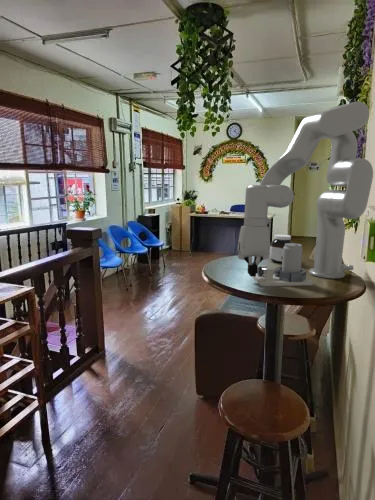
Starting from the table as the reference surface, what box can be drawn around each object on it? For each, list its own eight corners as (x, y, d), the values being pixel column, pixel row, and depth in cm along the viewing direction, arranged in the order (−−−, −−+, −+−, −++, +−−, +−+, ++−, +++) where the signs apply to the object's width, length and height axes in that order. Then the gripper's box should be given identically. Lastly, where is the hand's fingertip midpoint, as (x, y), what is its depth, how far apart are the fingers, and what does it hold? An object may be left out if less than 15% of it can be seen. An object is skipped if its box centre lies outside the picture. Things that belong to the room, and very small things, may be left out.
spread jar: (269, 263, 148) (271, 236, 145) (268, 257, 159) (269, 232, 156) (298, 264, 146) (300, 237, 143) (295, 259, 157) (297, 233, 154)
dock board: (299, 277, 126) (301, 263, 125) (312, 285, 117) (314, 270, 116) (252, 277, 124) (253, 264, 123) (261, 286, 114) (262, 271, 113)
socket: (297, 274, 126) (298, 266, 125) (309, 281, 116) (310, 273, 116) (271, 274, 125) (272, 266, 124) (282, 282, 115) (283, 273, 115)
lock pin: (277, 275, 122) (278, 265, 121) (281, 277, 118) (282, 267, 117) (256, 275, 121) (257, 265, 120) (260, 278, 117) (260, 267, 117)
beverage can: (301, 281, 117) (304, 246, 114) (281, 279, 118) (284, 245, 116) (299, 276, 123) (302, 243, 121) (280, 274, 124) (283, 242, 122)
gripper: (272, 221, 120) (269, 272, 123) (230, 221, 118) (228, 272, 121) (281, 224, 112) (277, 278, 116) (236, 223, 110) (233, 278, 114)
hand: (252, 275), depth 119 cm, fingers closed
